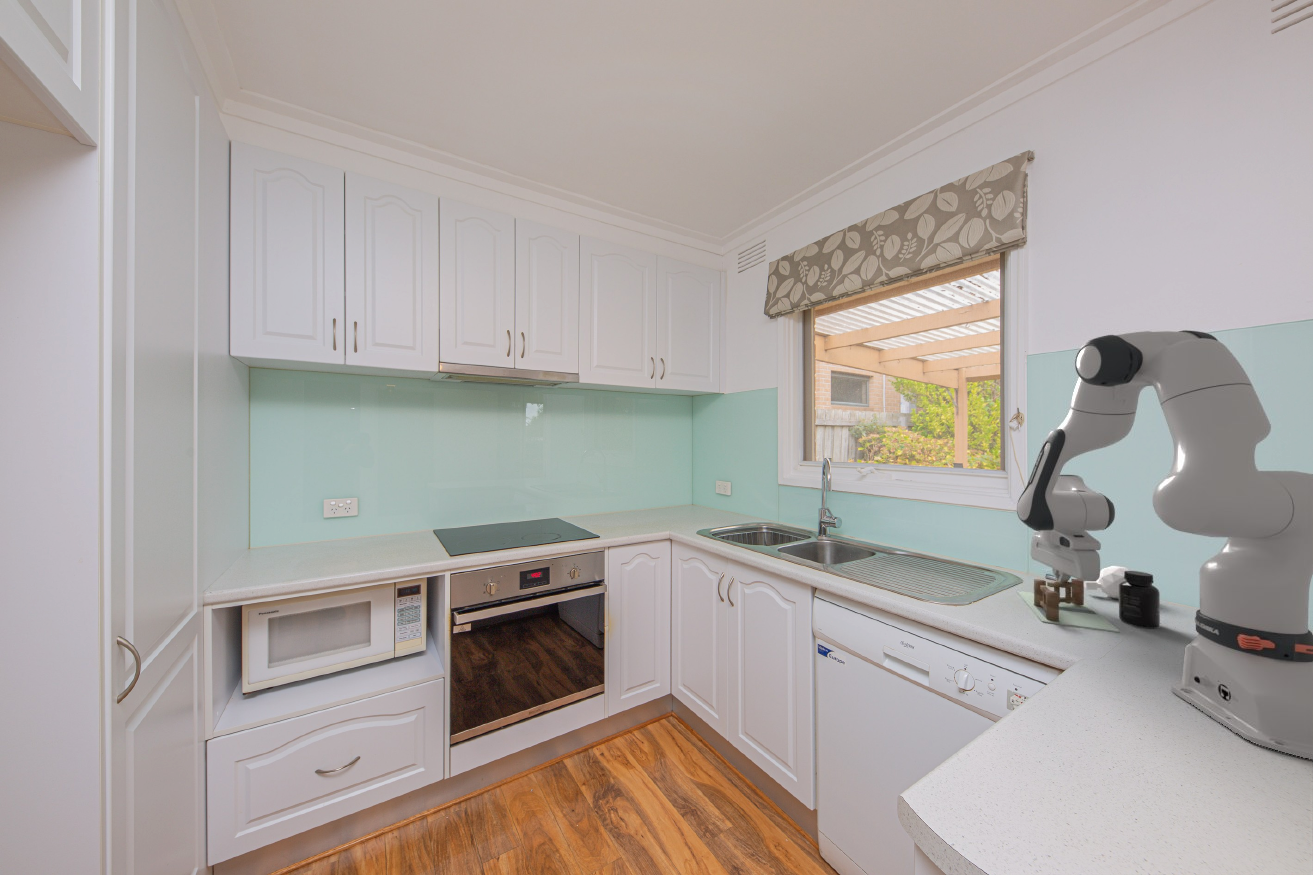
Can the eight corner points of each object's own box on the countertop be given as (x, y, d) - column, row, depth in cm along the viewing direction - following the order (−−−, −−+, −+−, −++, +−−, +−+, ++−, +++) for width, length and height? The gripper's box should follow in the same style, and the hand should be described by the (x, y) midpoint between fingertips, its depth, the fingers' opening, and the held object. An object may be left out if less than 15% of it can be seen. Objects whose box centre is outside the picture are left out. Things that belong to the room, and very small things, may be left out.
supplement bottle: (1168, 630, 107) (1168, 578, 107) (1133, 627, 108) (1133, 576, 108) (1143, 618, 113) (1143, 569, 113) (1111, 616, 115) (1110, 568, 115)
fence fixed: (1033, 604, 123) (1032, 578, 123) (1044, 606, 122) (1044, 579, 122) (1047, 621, 112) (1047, 592, 112) (1060, 623, 111) (1060, 594, 111)
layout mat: (1119, 632, 105) (1119, 630, 105) (1041, 622, 112) (1041, 620, 112) (1079, 599, 127) (1079, 597, 127) (1016, 592, 133) (1016, 590, 133)
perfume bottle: (1132, 587, 131) (1078, 587, 135) (1132, 559, 128) (1077, 560, 133) (1150, 607, 123) (1092, 606, 128) (1150, 577, 121) (1091, 577, 126)
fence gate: (1053, 605, 120) (1052, 581, 120) (1045, 602, 123) (1045, 579, 123) (1086, 605, 120) (1086, 581, 120) (1077, 601, 123) (1077, 578, 123)
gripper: (1023, 526, 133) (1023, 574, 134) (1077, 544, 113) (1077, 600, 113) (1047, 526, 132) (1047, 574, 133) (1106, 545, 112) (1106, 601, 112)
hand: (1061, 586), depth 123 cm, fingers closed
